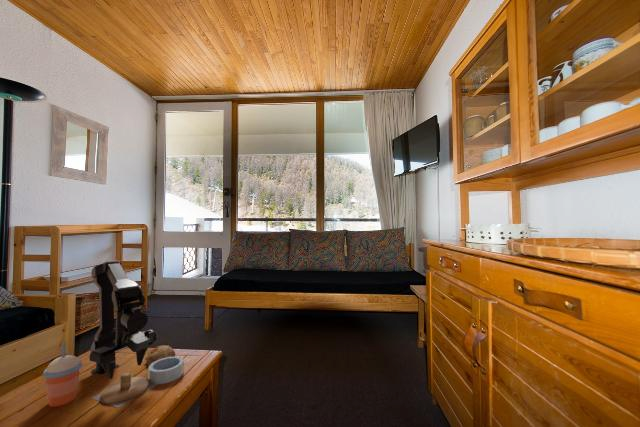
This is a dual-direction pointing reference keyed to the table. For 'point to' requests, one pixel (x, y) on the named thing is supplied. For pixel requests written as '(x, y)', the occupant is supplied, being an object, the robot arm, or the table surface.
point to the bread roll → (159, 354)
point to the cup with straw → (62, 378)
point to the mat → (98, 398)
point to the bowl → (165, 370)
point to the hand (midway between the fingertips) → (125, 371)
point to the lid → (124, 389)
